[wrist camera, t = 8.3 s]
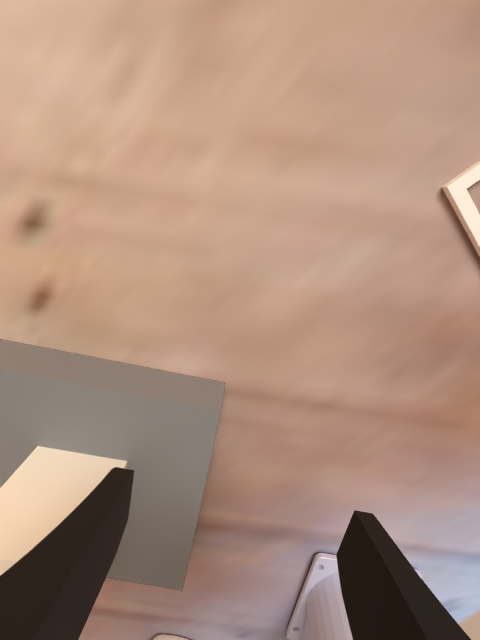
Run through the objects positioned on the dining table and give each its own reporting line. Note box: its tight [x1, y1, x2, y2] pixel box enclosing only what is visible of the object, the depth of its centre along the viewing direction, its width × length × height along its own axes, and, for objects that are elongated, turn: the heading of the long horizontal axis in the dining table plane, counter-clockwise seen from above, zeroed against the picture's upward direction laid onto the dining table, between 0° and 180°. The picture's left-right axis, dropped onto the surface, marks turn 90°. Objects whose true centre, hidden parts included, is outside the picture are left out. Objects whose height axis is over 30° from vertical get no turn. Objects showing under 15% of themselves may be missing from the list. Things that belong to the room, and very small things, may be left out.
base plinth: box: [0, 339, 225, 591], centre depth 21 cm, size 14×14×3 cm
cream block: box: [0, 446, 127, 575], centre depth 17 cm, size 5×5×6 cm
